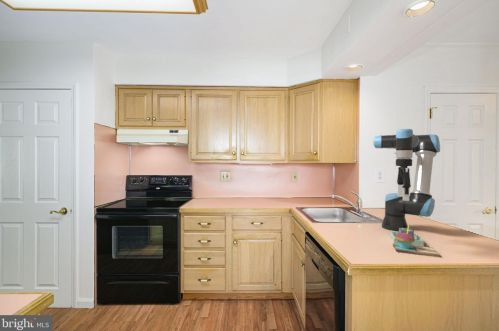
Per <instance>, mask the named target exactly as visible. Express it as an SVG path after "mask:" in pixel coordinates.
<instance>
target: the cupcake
mask: <svg viewBox="0 0 499 331" xmlns="http://www.w3.org/2000/svg"><path fill="white" fill-rule="evenodd" d="M407 225H408V229H407V233H398V234H396V237H395V239H396V240H397V241H398V243H399V246H400V247H401V248H406V249H409V248H410V247H411V245H412V243H413V242H415V238H414V237H413V236H412V235H410V234H408V232H409V229H410V226H411V224H407Z"/></svg>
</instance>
